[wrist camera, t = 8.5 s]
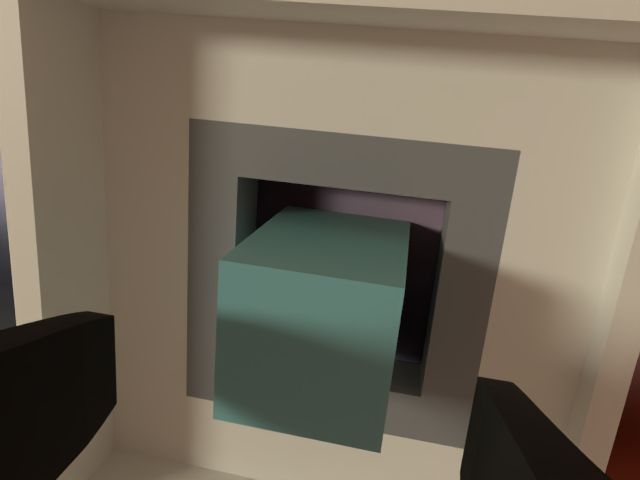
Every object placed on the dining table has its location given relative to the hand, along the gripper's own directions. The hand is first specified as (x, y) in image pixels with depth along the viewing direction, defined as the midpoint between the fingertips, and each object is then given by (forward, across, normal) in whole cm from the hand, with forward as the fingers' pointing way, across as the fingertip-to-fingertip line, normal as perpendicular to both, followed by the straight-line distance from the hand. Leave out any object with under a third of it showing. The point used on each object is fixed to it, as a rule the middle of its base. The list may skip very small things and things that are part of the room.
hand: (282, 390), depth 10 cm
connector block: (+8, 0, 0) cm, 8 cm away
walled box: (+7, 0, 0) cm, 7 cm away
